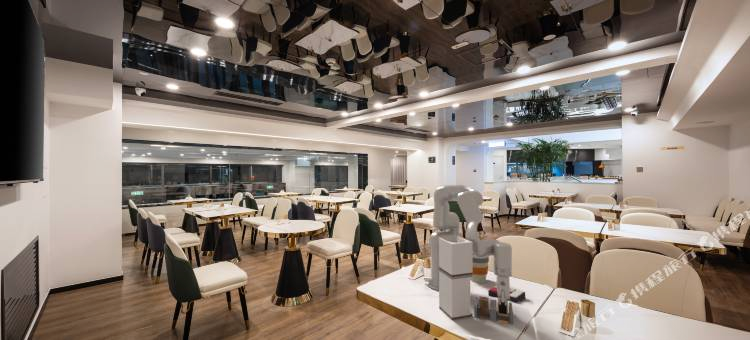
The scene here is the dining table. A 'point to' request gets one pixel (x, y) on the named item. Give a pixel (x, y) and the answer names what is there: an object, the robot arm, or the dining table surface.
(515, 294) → the calculator
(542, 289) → the dining table surface
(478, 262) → the reusable coffee cup
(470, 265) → the banded white column
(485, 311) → the walnut plug
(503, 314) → the tan tall block
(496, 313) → the grey slotted rack
